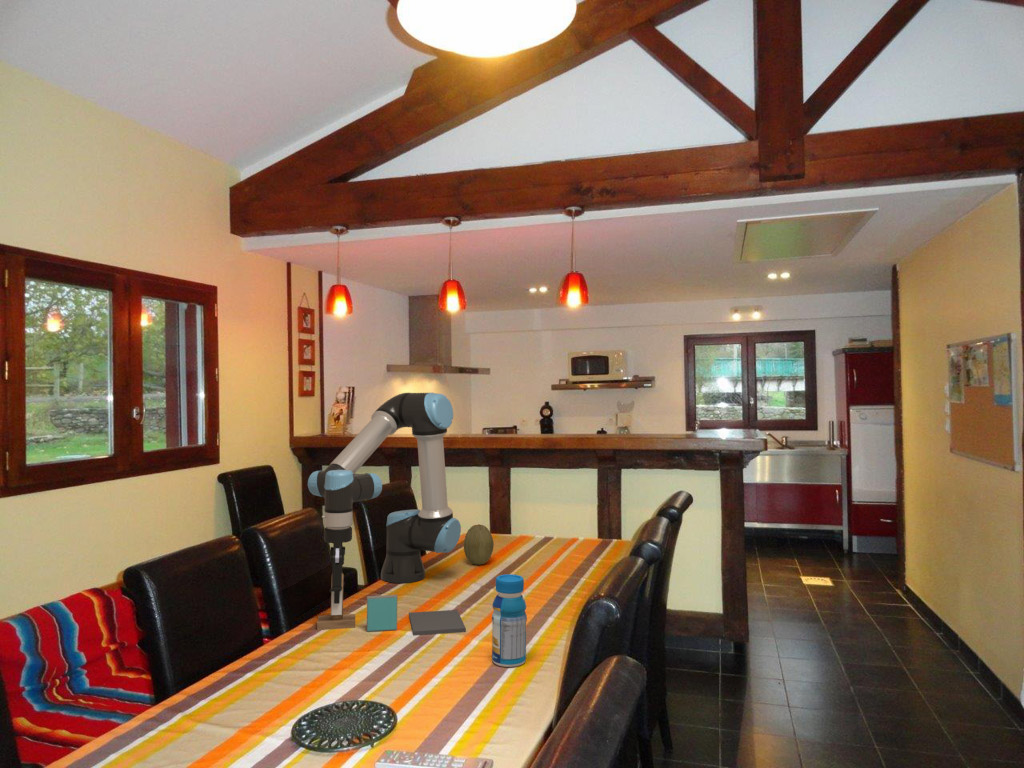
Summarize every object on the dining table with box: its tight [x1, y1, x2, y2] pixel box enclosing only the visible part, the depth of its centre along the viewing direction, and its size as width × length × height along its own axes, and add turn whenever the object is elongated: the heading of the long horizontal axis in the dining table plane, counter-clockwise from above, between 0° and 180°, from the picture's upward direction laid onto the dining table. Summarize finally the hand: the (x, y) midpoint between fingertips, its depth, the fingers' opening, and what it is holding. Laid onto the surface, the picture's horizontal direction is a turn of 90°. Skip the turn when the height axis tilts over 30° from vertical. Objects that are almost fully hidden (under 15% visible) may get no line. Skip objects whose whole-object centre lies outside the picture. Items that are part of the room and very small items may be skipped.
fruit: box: [463, 523, 495, 566], centre depth 257 cm, size 11×11×15 cm
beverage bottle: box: [491, 573, 528, 668], centre depth 163 cm, size 8×8×20 cm
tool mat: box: [408, 609, 467, 636], centre depth 189 cm, size 16×14×1 cm
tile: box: [366, 594, 398, 633], centre depth 184 cm, size 2×8×9 cm, turn 103°
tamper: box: [316, 572, 356, 631], centre depth 187 cm, size 6×10×14 cm, turn 103°
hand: (336, 612), depth 187 cm, fingers open, 3 cm apart
